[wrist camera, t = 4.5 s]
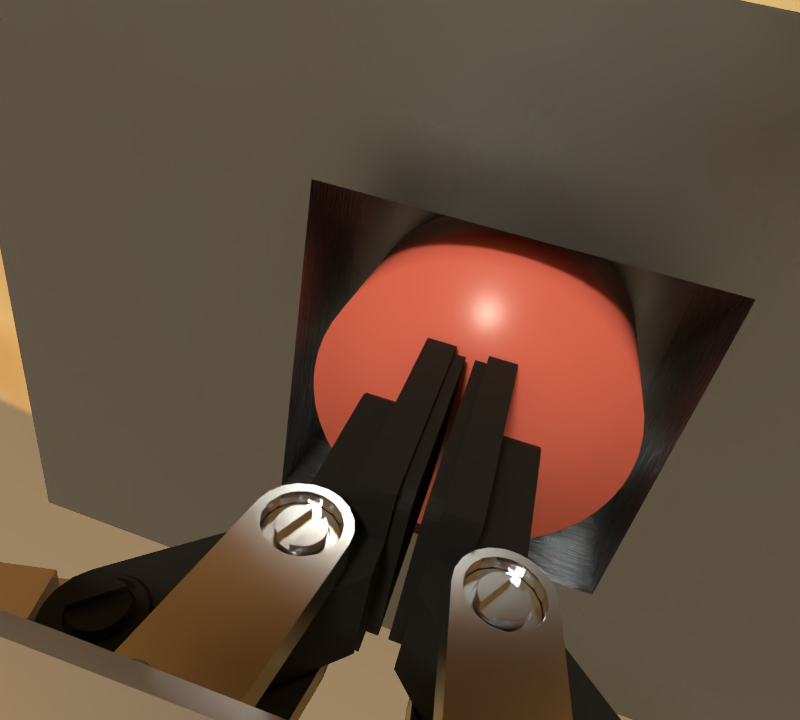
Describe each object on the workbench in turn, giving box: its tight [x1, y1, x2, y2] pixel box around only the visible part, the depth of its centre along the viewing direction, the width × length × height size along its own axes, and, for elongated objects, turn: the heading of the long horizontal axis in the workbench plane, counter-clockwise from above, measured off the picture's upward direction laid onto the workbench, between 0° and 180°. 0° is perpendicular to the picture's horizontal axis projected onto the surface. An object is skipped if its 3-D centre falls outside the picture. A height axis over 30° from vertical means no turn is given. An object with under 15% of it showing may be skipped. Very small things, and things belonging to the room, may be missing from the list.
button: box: [314, 215, 644, 538], centre depth 13 cm, size 6×6×3 cm
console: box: [0, 0, 800, 720], centre depth 14 cm, size 20×14×6 cm
